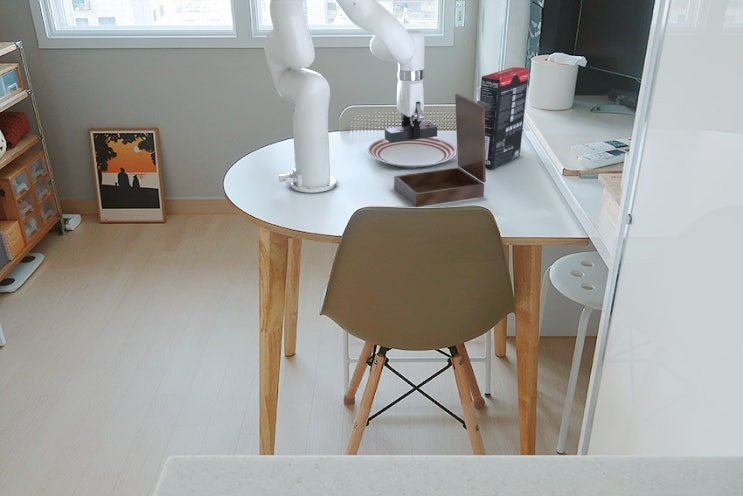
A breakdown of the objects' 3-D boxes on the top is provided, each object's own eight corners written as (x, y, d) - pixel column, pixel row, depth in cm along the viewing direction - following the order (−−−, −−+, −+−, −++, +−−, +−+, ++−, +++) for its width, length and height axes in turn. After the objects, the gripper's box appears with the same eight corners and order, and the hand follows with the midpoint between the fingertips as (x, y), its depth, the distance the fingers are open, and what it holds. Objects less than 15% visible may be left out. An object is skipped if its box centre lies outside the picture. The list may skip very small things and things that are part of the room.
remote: (391, 143, 207) (391, 132, 206) (384, 138, 212) (384, 127, 210) (437, 136, 212) (437, 125, 211) (430, 132, 216) (430, 121, 215)
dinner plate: (472, 166, 211) (473, 155, 210) (388, 178, 202) (388, 167, 201) (432, 141, 234) (432, 131, 233) (355, 151, 225) (354, 141, 224)
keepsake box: (415, 210, 181) (416, 194, 179) (394, 191, 193) (394, 176, 191) (483, 199, 187) (484, 184, 185) (458, 181, 199) (458, 167, 198)
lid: (481, 106, 176) (500, 103, 177) (455, 94, 188) (472, 90, 189) (483, 182, 185) (500, 178, 186) (457, 165, 197) (474, 162, 199)
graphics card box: (502, 152, 222) (509, 65, 211) (522, 157, 218) (530, 68, 207) (473, 166, 211) (478, 74, 199) (494, 171, 207) (500, 78, 195)
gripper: (388, 70, 210) (388, 130, 218) (411, 82, 195) (410, 145, 203) (411, 68, 212) (410, 127, 220) (435, 79, 198) (434, 142, 206)
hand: (410, 135), depth 211 cm, fingers closed on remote, 5 cm apart
